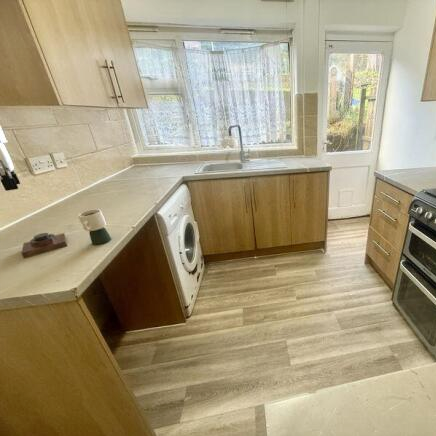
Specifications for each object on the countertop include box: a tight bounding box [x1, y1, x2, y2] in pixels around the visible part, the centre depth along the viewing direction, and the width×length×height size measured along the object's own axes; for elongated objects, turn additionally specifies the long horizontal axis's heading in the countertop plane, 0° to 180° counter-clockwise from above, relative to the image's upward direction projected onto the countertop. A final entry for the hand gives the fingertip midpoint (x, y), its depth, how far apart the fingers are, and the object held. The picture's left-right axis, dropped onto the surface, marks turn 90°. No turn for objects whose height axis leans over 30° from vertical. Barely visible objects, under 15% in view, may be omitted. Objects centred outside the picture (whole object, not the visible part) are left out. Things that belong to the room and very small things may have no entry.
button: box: [33, 232, 50, 241], centre depth 93 cm, size 4×4×2 cm
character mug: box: [77, 208, 112, 246], centre depth 94 cm, size 11×7×13 cm, turn 11°
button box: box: [21, 232, 68, 259], centre depth 94 cm, size 12×10×4 cm
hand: (13, 187), depth 90 cm, fingers open, 9 cm apart
